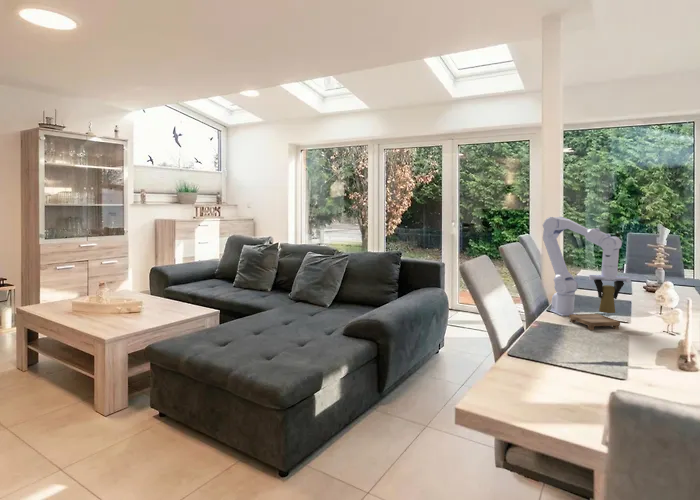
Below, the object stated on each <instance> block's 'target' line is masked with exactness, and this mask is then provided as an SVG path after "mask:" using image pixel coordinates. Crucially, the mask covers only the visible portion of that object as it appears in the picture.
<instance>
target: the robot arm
mask: <svg viewBox="0 0 700 500" xmlns="http://www.w3.org/2000/svg"><path fill="white" fill-rule="evenodd" d="M542 228H543V230H542V231H543V233H542V241H543V243H544V246H545V249H546V251H547V254H548V257H549V261H550V263H551V265H552V269H553V271H554V273H555V276H554V278H553V281H554V285H553V286H554V287H553V288H554V291H555V292H554V294H552V297H551V309H549V311H550V312H551V313H554V314H556V315H559V316H561V317H563V316H565V317H566V316H567V317H568V316H569V315H570V314H577V313H575V311H574V310H575V297H576V296H575V293H576V291H578V289H579V284H578V281H576V280H575V278H574V276H573V274H572V273H570V271H569V270H568V267H567V264H566V262H565V259H564V256H563V253H562V251H561V248H560V245H559V242H558V237H559V236H560V234H561V233H563V231H565V230H570V231H572V232H575V233H577V234H578V235H579V234H580V235H582V236H584V237H585V240H586V241H588V242H589V243H592V244H593V245H596V246H598V247H600V248H601V249H602V259H601V260H602V261H601V271H600V272H601V273H600V274H588V280H589V281H593V283H594V285H595V287H596V290H597V296H598V298H599V299H601V297H602V286H604V282H603V281H607V282H613V286H614V287H615V293H614V300H617V299H618V296H619V293H620V291H621V289H622V288H623V287H624V285H625V283H630V277H629V276H620V275H618V270H619V268H618V266H619V255H620V254H619V253H620V249H621V248H622V246H623V242H622V240H621V239H620V238H619V237H618V236H616V235H611V233H606V232H604V231H601V229H600V228H599V227H596V228H594V227H593V228H590V229H589V228H588V227H586V226H583V225H582V224H580V223H578V222H575V221H573V220H571V219H569V218H567V217H566V218H565V217H564V216H549V217H547V218H546V219H545V220H544V222H543V224H542Z"/></svg>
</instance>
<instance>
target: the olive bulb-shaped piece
mask: <svg viewBox="0 0 700 500" xmlns="http://www.w3.org/2000/svg"><path fill="white" fill-rule="evenodd" d="M614 293H615V287H614V285H609V284H607V285H604V284H603V286H602V297H601V298H600V303H599V307H598V312H600V313H605V314H606V313H607V314H615V313H616V305H615V299H614Z"/></svg>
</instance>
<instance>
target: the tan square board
mask: <svg viewBox="0 0 700 500" xmlns="http://www.w3.org/2000/svg"><path fill="white" fill-rule="evenodd" d="M569 322H570V323H573V324H575V323H576V322H578V323H581V324H583V325H586V326H587V330H589V331H594V330H595V327H609V326H611V327H612V329H614V330H619V329H620V326H621V321H620V320H617V319H613V318H611V317H608V316H605V315H602V314H600V313H581V314H580V313H576V314H570V315H569Z"/></svg>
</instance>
